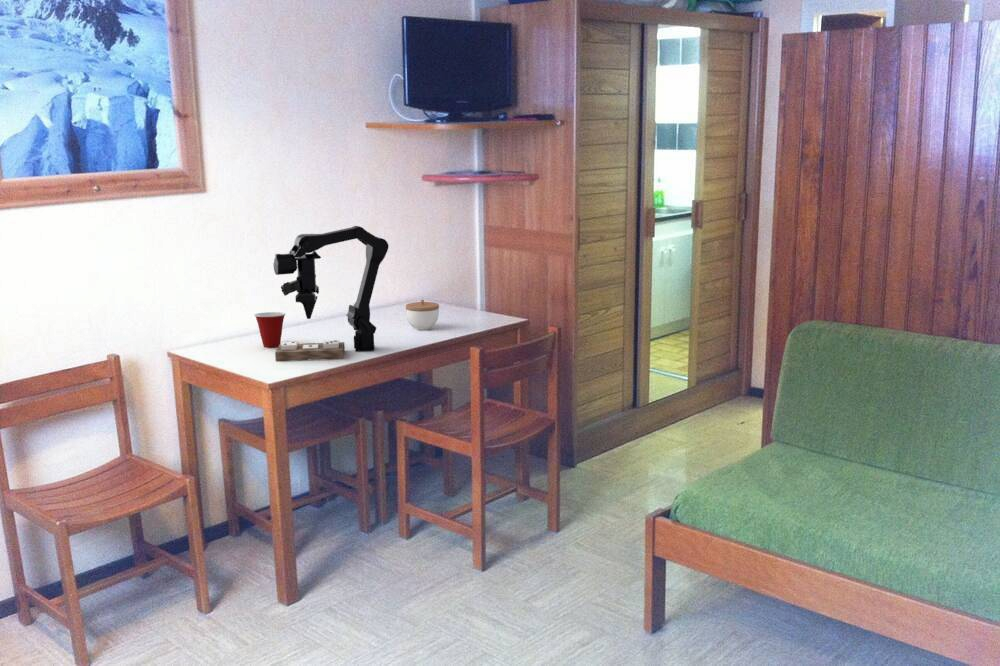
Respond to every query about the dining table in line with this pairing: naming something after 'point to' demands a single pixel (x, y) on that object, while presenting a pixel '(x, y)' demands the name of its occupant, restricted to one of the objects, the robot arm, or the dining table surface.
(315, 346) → the one dot key
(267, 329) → the plastic cup
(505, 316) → the dining table surface
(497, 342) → the dining table surface
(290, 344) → the two dot key
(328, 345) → the three dot key
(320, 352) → the key panel
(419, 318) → the lidded bowl
